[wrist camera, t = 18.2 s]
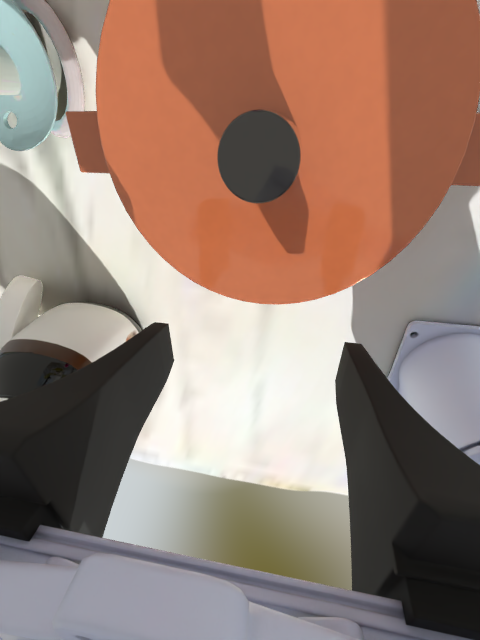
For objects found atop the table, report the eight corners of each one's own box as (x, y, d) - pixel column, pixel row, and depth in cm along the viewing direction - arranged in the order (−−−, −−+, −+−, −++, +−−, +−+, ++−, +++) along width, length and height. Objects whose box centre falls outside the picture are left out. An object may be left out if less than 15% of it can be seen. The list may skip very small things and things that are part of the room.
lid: (399, 304, 15) (430, 366, 12) (142, 282, 17) (97, 330, 13) (558, -159, 8) (799, -415, 4) (67, -108, 10) (-85, -249, 6)
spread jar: (158, 383, 31) (92, 505, 21) (54, 367, 32) (-52, 475, 22) (139, 273, 24) (29, 380, 14) (8, 259, 25) (-171, 348, 16)
